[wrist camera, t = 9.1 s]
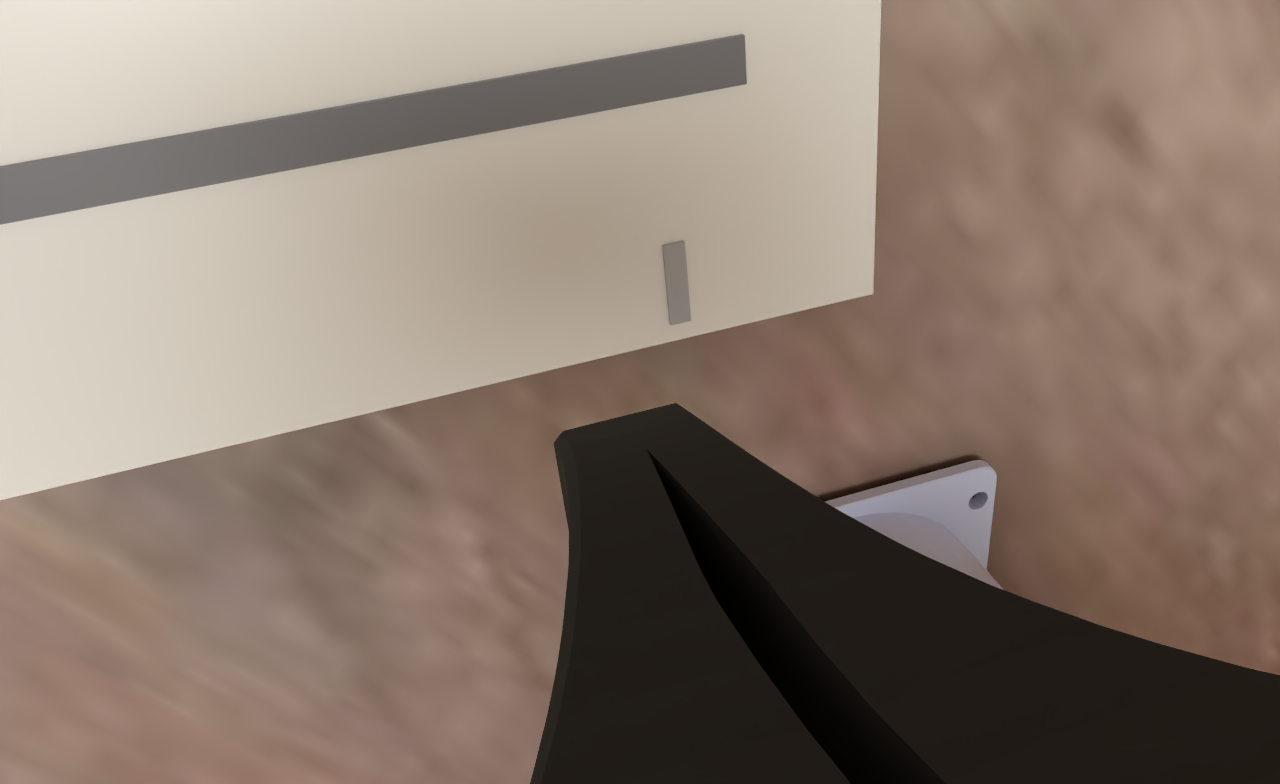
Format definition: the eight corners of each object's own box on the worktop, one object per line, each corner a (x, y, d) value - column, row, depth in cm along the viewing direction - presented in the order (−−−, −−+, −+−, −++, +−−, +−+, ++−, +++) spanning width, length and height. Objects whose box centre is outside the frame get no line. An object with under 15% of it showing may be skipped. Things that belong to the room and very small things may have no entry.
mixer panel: (839, 263, 22) (875, 295, 20) (-503, 570, 17) (-569, 638, 16) (843, -314, 16) (893, -321, 15) (-1117, -96, 12) (-1294, -78, 10)
